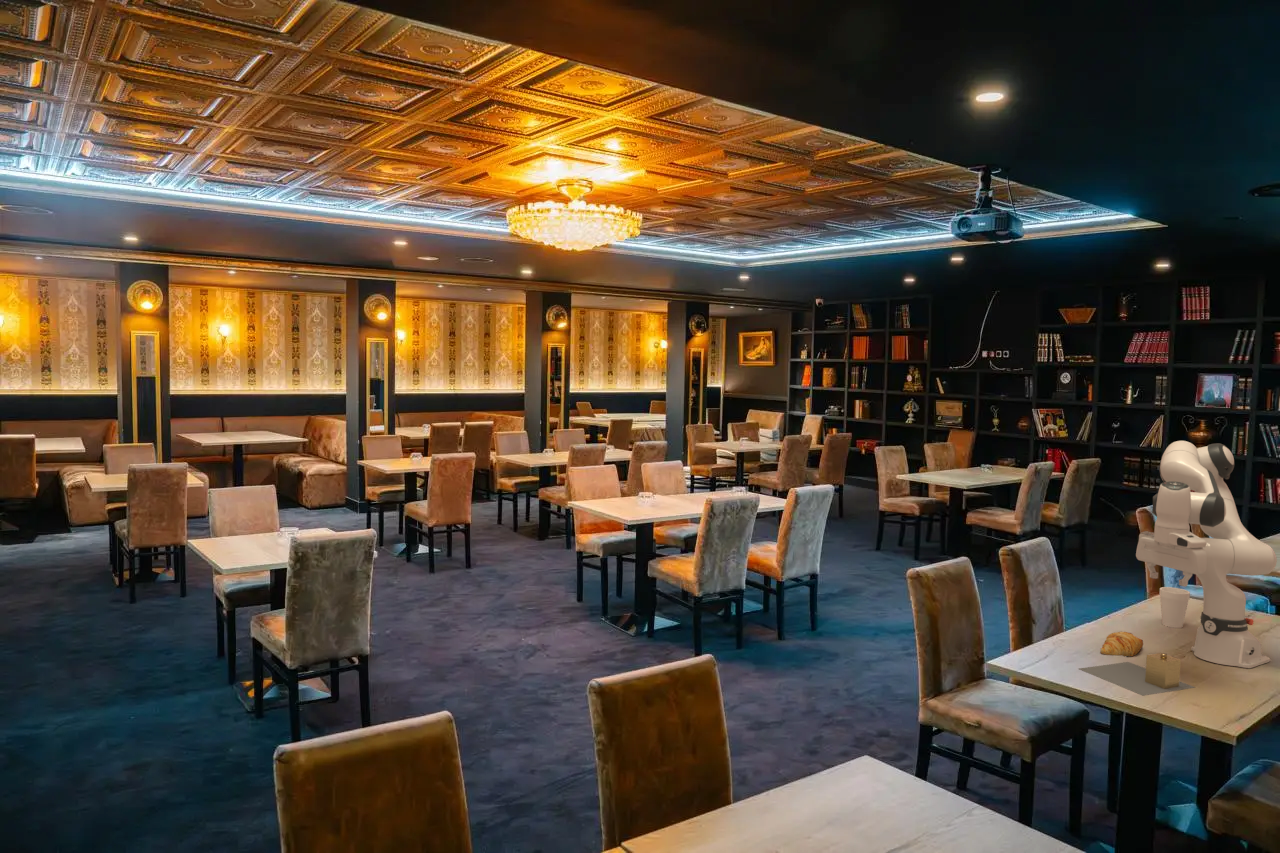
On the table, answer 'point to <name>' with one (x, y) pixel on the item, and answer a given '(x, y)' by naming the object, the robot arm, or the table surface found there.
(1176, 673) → the brass knob block
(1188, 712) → the table surface
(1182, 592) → the foam cup
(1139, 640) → the croissant
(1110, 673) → the charcoal mat
